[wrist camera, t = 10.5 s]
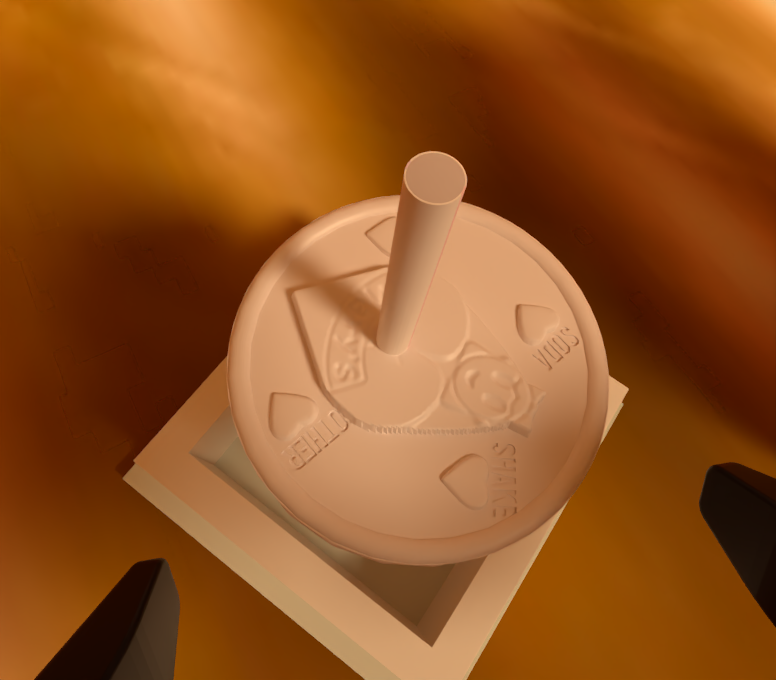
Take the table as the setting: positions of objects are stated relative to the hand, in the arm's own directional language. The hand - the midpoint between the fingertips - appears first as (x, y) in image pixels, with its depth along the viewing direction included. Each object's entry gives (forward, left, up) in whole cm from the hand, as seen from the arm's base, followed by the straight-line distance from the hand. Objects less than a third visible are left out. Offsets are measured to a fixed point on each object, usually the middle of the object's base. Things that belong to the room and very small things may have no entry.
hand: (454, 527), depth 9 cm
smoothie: (+2, -2, -9) cm, 9 cm away
